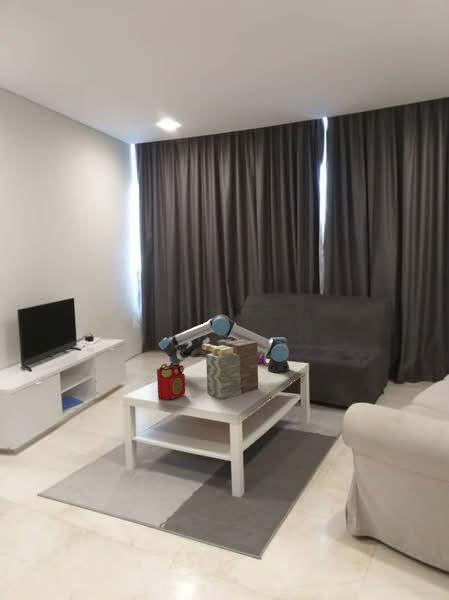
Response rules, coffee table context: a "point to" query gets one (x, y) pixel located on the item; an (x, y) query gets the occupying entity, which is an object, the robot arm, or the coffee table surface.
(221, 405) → the coffee table surface
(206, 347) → the light wooden block
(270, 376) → the coffee table surface
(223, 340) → the coffeepot
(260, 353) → the candy bar box
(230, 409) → the coffee table surface
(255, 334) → the robot arm
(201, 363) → the coffee table surface
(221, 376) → the stand
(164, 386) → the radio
